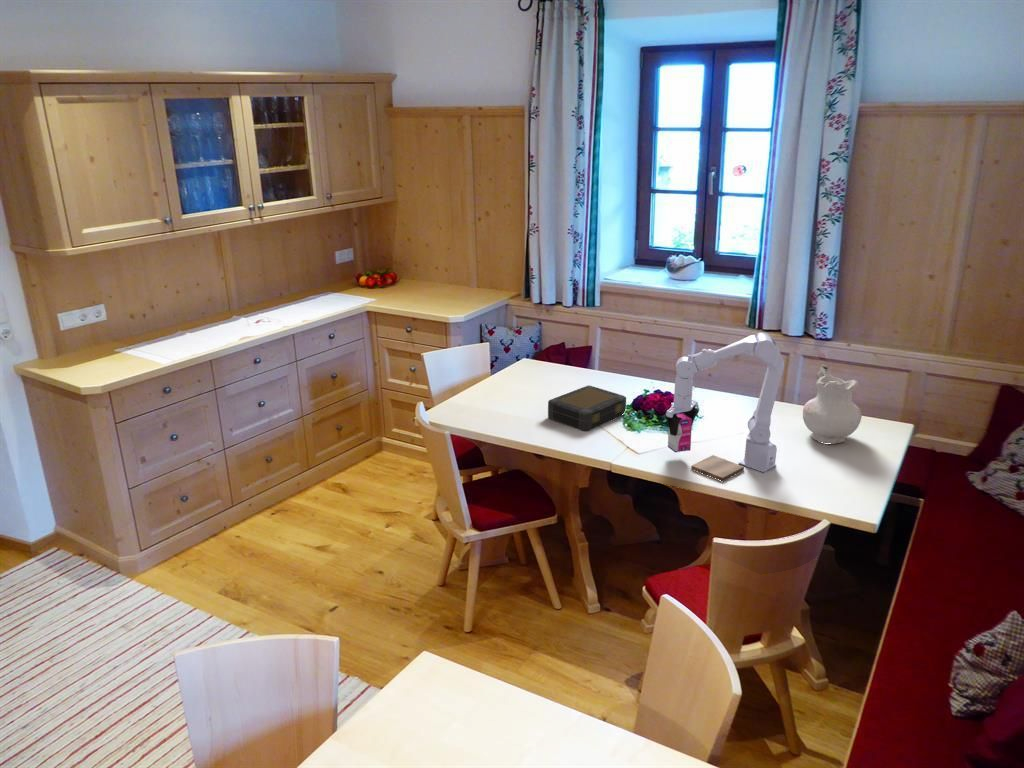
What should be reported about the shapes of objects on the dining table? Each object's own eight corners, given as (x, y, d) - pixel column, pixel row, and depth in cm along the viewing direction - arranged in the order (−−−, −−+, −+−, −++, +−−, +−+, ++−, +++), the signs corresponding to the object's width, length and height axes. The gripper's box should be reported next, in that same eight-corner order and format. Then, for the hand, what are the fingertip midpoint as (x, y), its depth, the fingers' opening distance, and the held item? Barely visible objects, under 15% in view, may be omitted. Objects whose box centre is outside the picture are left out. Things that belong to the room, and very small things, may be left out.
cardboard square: (743, 472, 258) (744, 466, 257) (722, 483, 250) (722, 477, 249) (712, 460, 266) (713, 455, 265) (691, 471, 259) (691, 465, 258)
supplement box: (675, 453, 262) (676, 420, 258) (667, 447, 267) (668, 415, 264) (691, 450, 263) (692, 418, 260) (682, 444, 269) (683, 412, 265)
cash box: (586, 401, 318) (587, 383, 316) (627, 414, 305) (628, 396, 302) (544, 418, 302) (545, 399, 299) (585, 433, 288) (586, 413, 286)
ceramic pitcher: (785, 431, 291) (789, 368, 282) (830, 421, 296) (835, 358, 287) (824, 454, 272) (829, 387, 263) (871, 443, 277) (877, 377, 268)
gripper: (686, 385, 266) (683, 422, 270) (659, 395, 257) (657, 434, 261) (703, 390, 261) (700, 428, 266) (677, 401, 252) (674, 440, 256)
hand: (680, 431), depth 263 cm, fingers closed on supplement box, 7 cm apart
